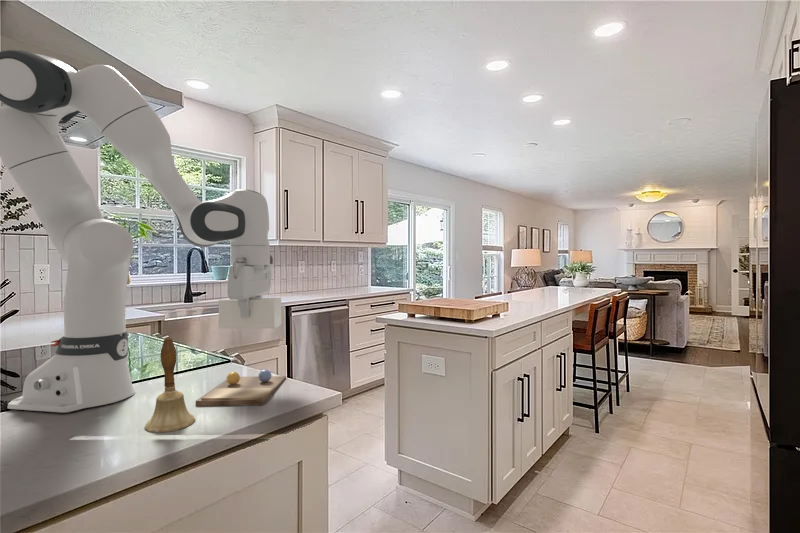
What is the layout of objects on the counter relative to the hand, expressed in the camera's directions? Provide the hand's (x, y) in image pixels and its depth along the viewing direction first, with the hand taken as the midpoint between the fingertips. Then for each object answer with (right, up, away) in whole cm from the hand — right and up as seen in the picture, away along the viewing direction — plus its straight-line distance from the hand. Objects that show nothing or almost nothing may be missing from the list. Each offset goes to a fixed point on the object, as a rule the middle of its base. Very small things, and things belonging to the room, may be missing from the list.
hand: (250, 315), depth 104 cm
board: (0, -17, -4) cm, 18 cm away
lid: (0, -3, 0) cm, 3 cm away
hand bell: (-7, -18, -24) cm, 30 cm away
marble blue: (+3, -16, 0) cm, 16 cm away
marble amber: (-4, -15, 0) cm, 15 cm away
